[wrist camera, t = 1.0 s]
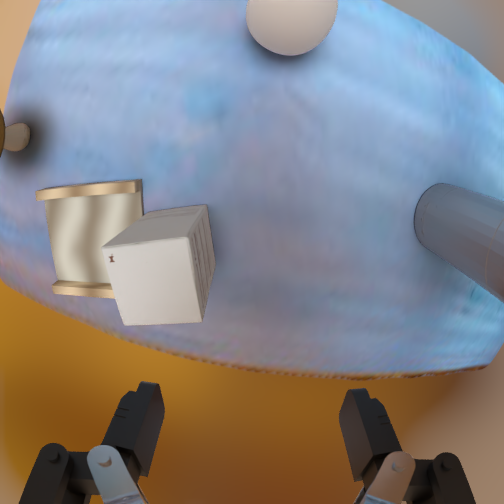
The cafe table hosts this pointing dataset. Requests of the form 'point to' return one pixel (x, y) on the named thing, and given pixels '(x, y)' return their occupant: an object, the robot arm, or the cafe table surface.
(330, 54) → the cafe table surface
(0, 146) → the mushroom
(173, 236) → the supplement box
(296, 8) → the sauce bottle
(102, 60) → the cafe table surface
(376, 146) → the cafe table surface
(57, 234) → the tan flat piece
